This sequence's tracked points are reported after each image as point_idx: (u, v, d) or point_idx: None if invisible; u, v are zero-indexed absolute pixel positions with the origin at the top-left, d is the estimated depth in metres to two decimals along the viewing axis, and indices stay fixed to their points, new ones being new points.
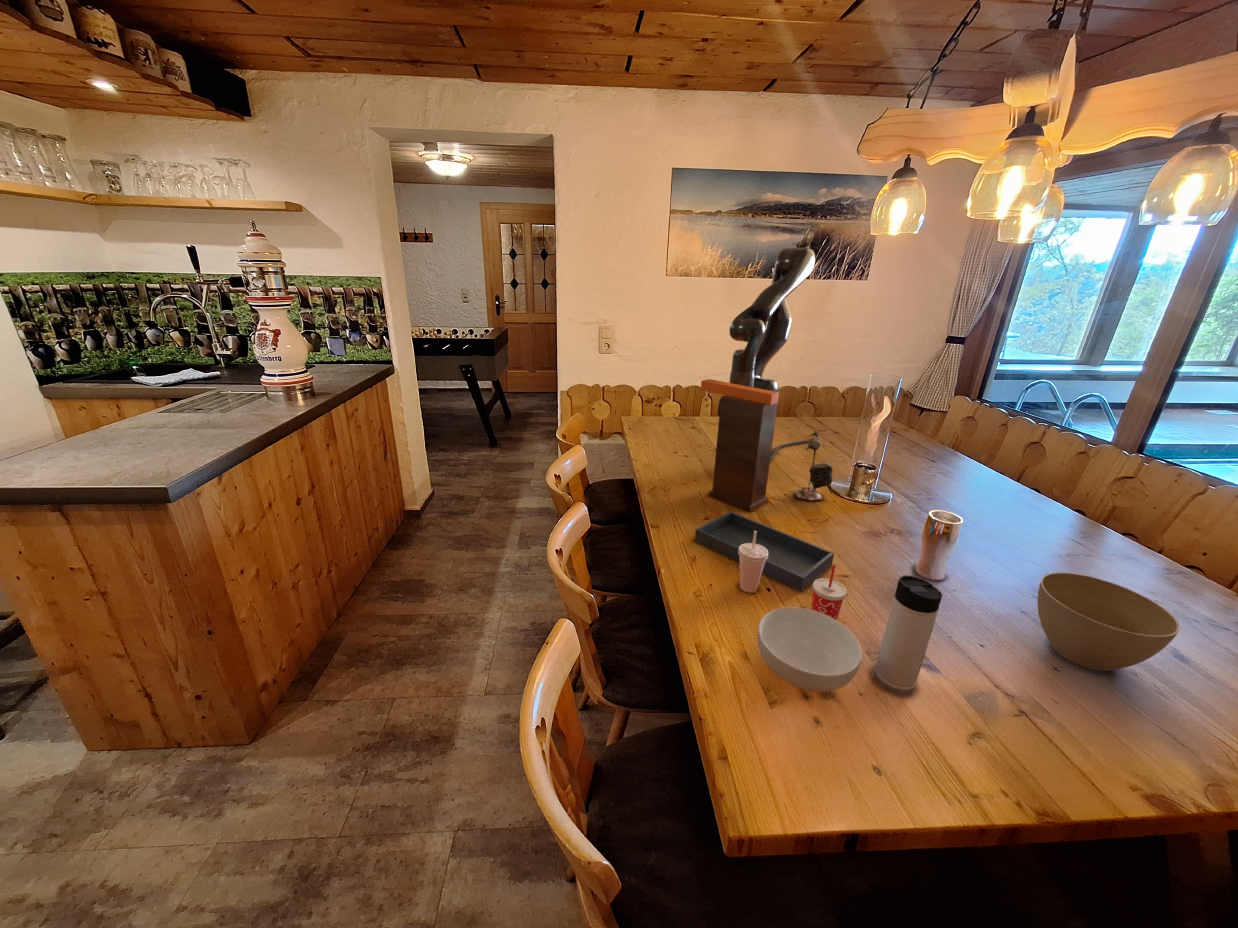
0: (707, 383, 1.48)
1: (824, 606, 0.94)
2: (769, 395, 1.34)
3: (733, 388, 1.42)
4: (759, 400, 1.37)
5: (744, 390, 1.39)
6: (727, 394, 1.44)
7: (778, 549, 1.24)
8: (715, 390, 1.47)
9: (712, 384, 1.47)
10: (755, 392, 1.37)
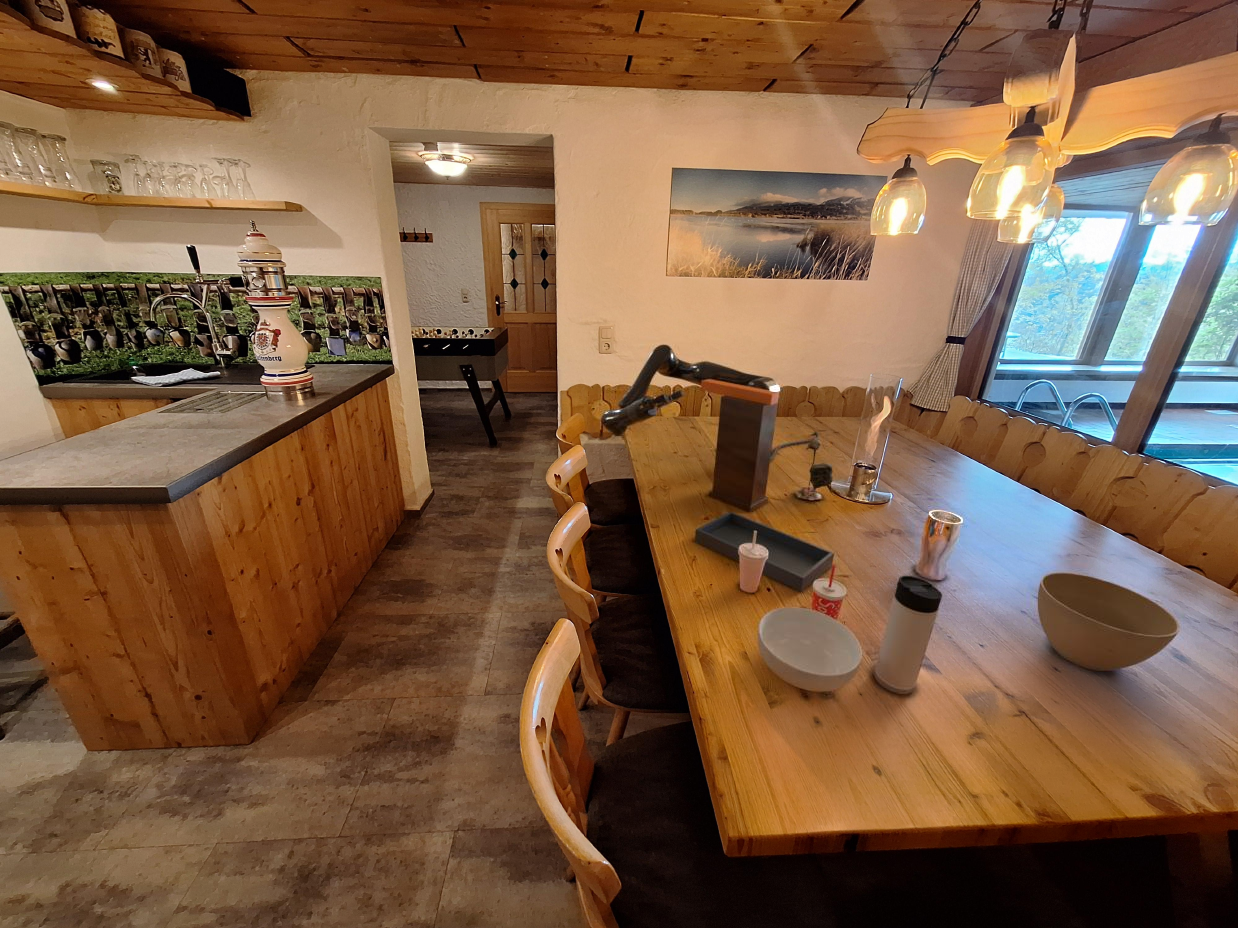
0: (707, 383, 1.48)
1: (824, 606, 0.94)
2: (769, 395, 1.34)
3: (733, 388, 1.42)
4: (759, 400, 1.37)
5: (744, 390, 1.39)
6: (727, 394, 1.44)
7: (778, 549, 1.24)
8: (715, 390, 1.47)
9: (712, 384, 1.47)
10: (755, 392, 1.37)
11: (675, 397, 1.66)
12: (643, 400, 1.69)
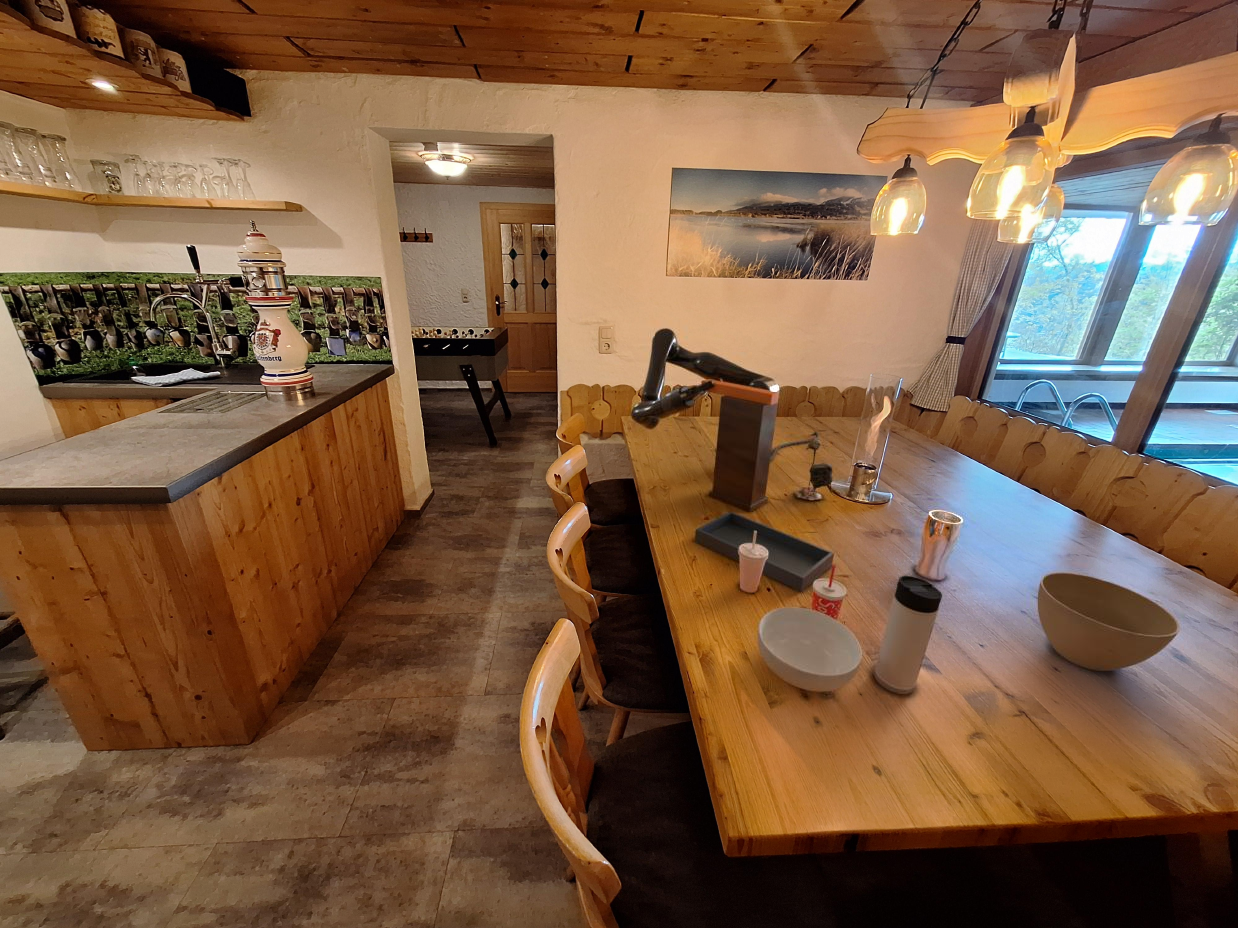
0: None
1: (824, 606, 0.94)
2: (769, 395, 1.34)
3: (733, 388, 1.42)
4: (759, 400, 1.37)
5: (744, 390, 1.39)
6: (727, 394, 1.44)
7: (778, 549, 1.24)
8: (715, 390, 1.47)
9: None
10: (755, 392, 1.37)
11: None
12: (680, 390, 1.56)
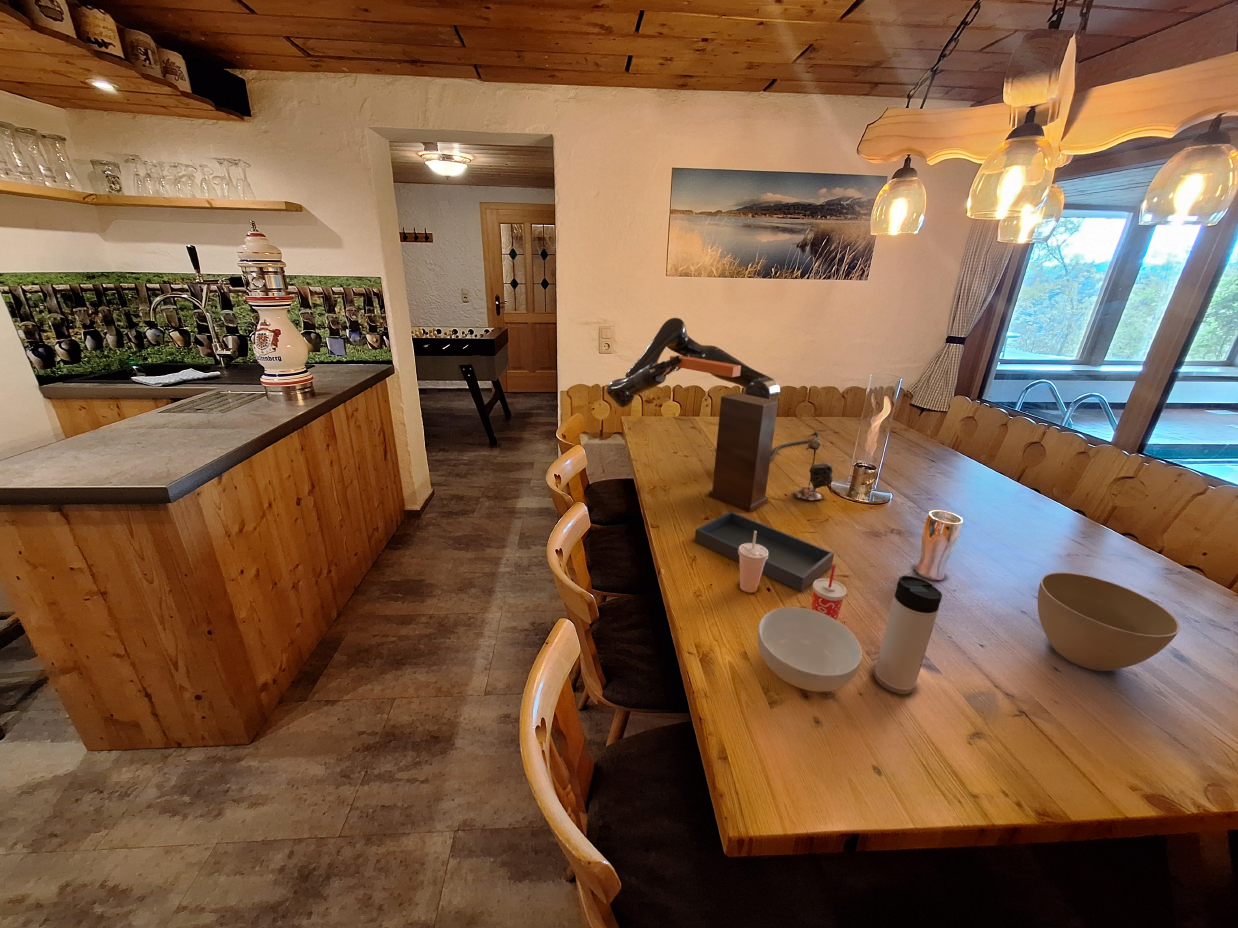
0: None
1: (824, 606, 0.94)
2: (731, 368, 1.41)
3: (698, 362, 1.48)
4: (722, 373, 1.43)
5: (708, 364, 1.46)
6: (693, 368, 1.50)
7: (778, 549, 1.24)
8: (682, 365, 1.53)
9: None
10: (718, 365, 1.44)
11: None
12: (650, 366, 1.63)
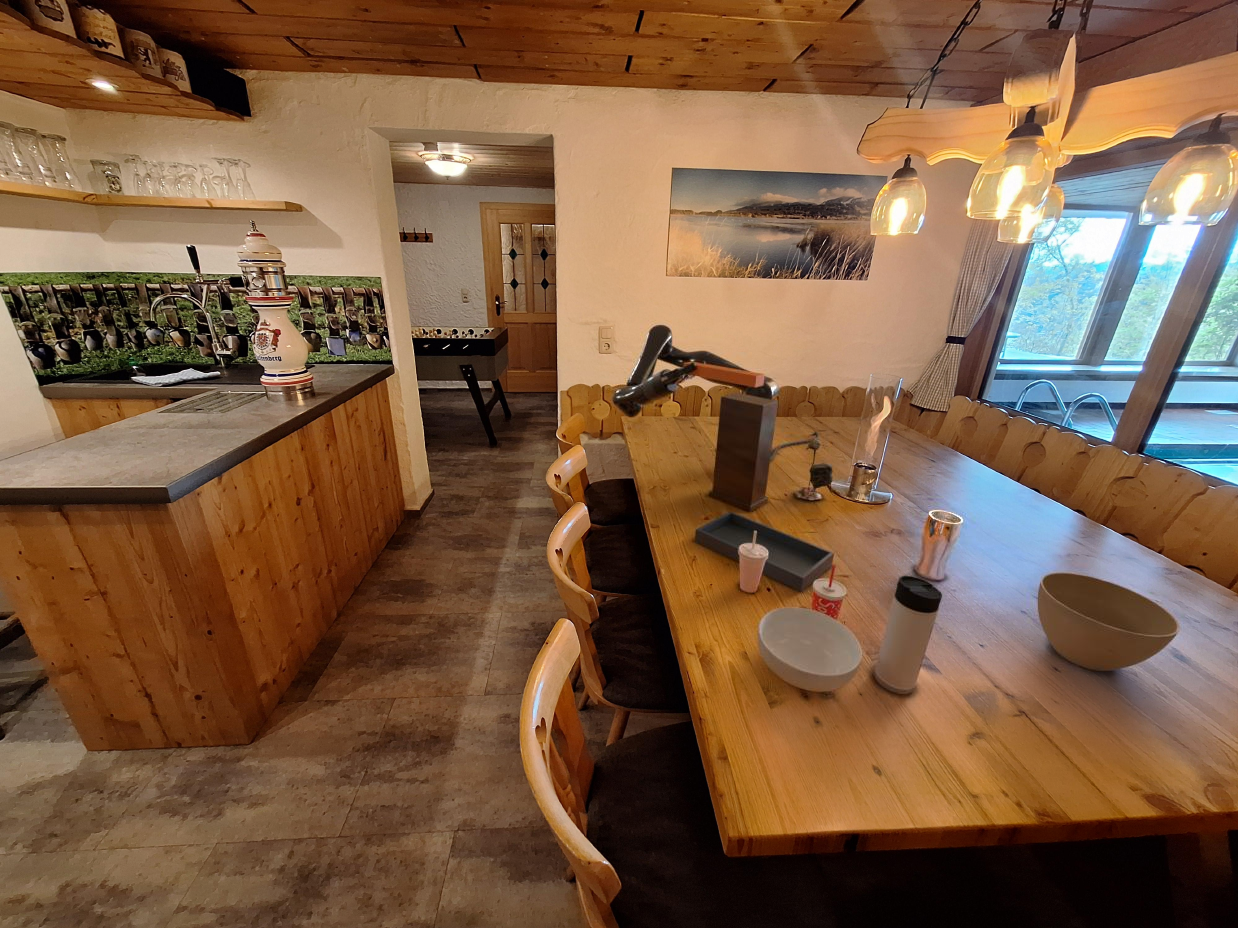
0: None
1: (824, 606, 0.94)
2: (753, 377, 1.25)
3: (716, 370, 1.33)
4: (743, 382, 1.28)
5: (727, 372, 1.30)
6: (710, 377, 1.35)
7: (778, 549, 1.24)
8: (697, 373, 1.38)
9: None
10: (739, 374, 1.28)
11: None
12: (662, 373, 1.47)
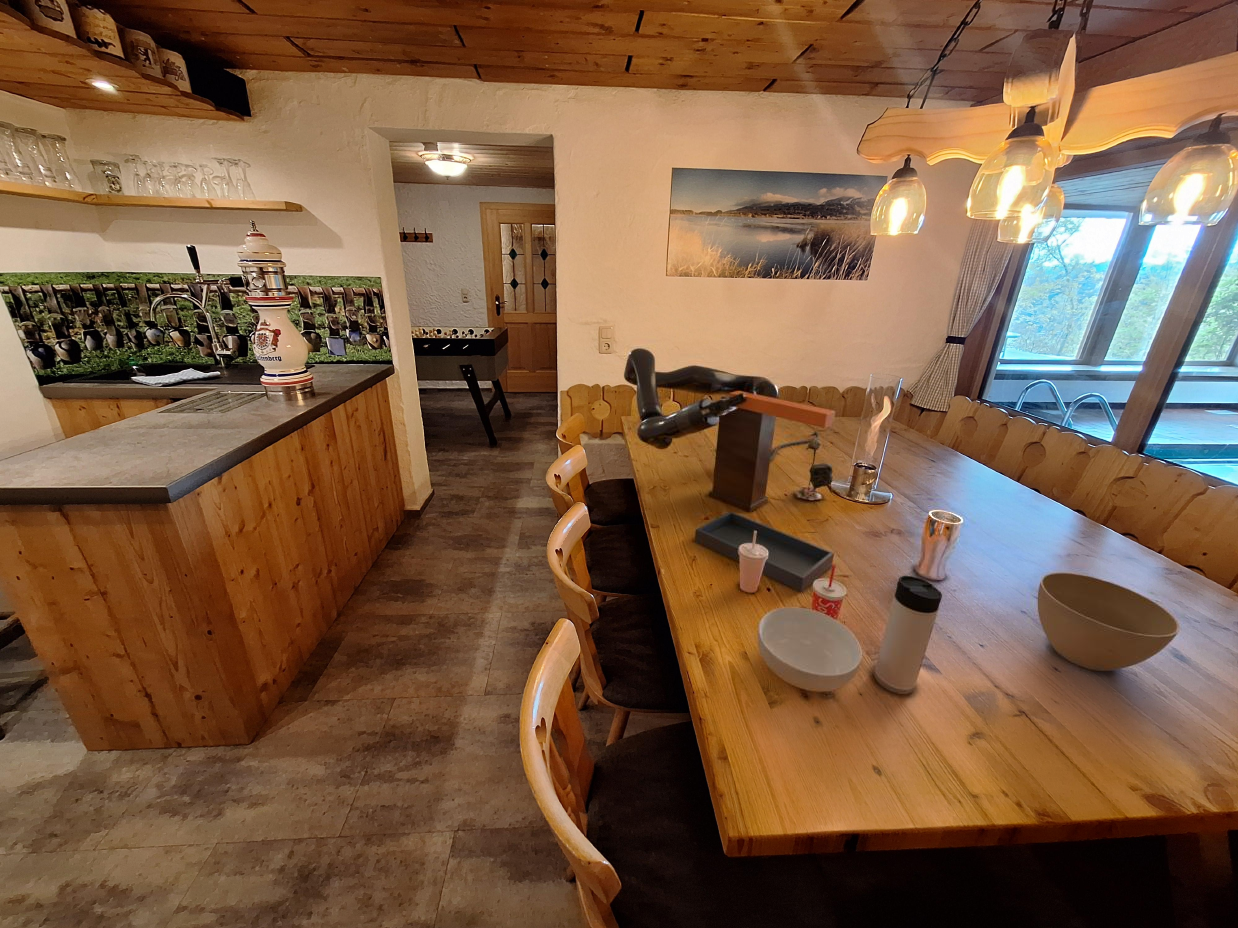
0: None
1: (824, 606, 0.94)
2: (823, 415, 1.01)
3: (772, 404, 1.09)
4: (809, 421, 1.03)
5: (787, 407, 1.06)
6: (764, 411, 1.11)
7: (778, 549, 1.24)
8: (747, 406, 1.14)
9: None
10: (803, 410, 1.04)
11: None
12: (701, 404, 1.23)
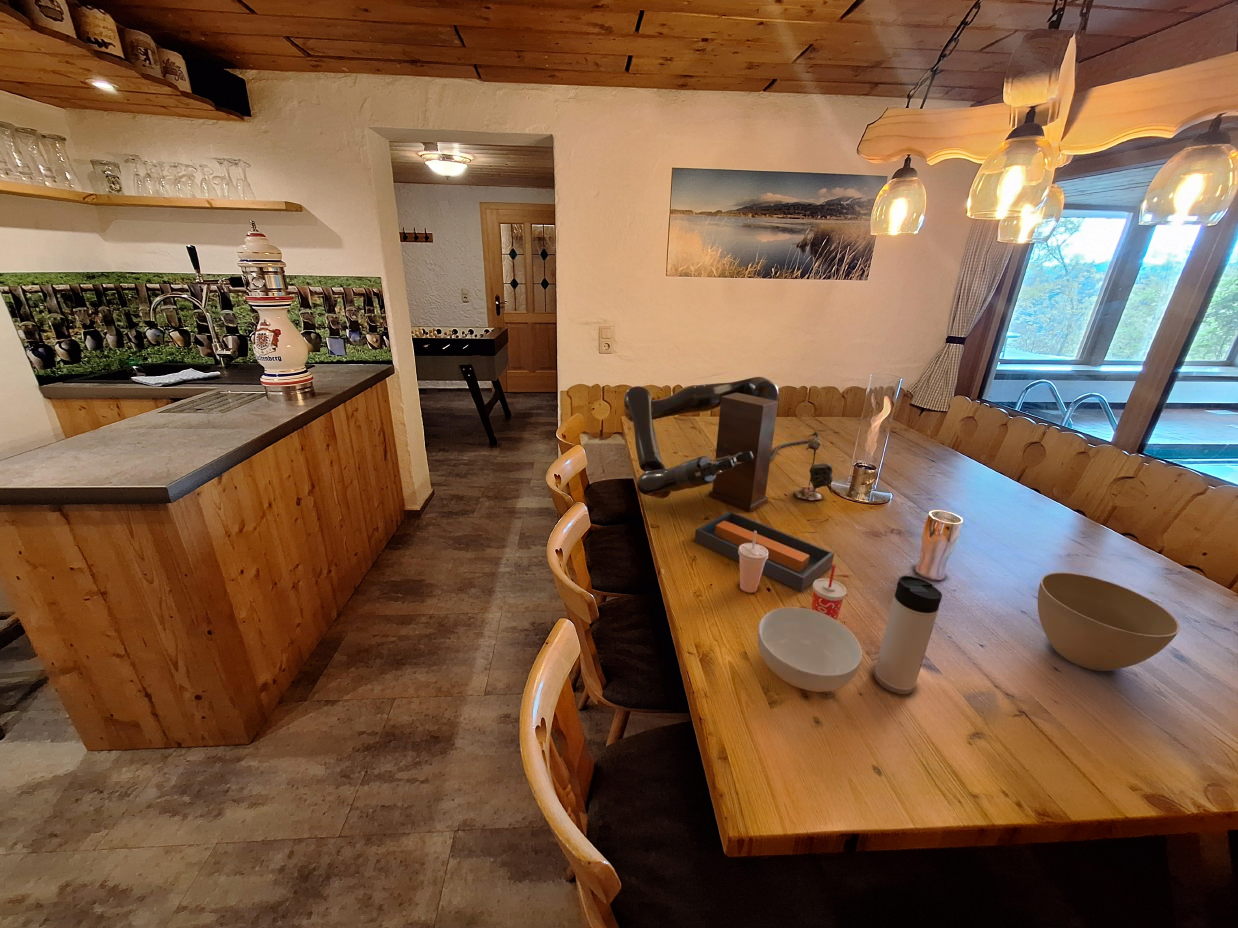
0: (723, 529, 1.28)
1: (824, 606, 0.94)
2: (798, 561, 1.14)
3: None
4: (786, 564, 1.16)
5: (768, 548, 1.19)
6: None
7: None
8: (732, 540, 1.26)
9: (729, 532, 1.26)
10: (781, 554, 1.17)
11: (742, 459, 1.25)
12: (698, 462, 1.28)
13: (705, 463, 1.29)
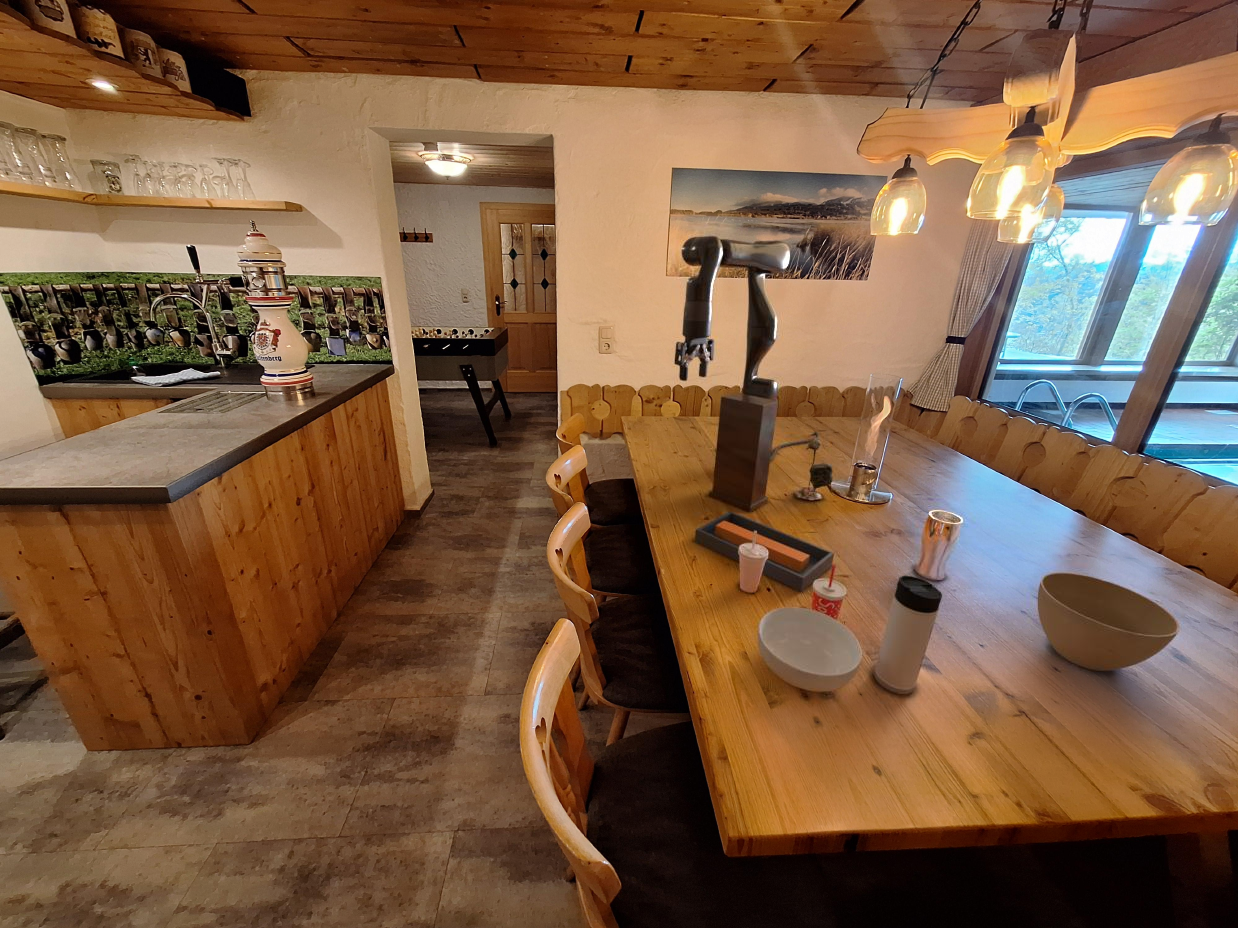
0: (723, 529, 1.28)
1: (824, 606, 0.94)
2: (798, 561, 1.14)
3: None
4: (786, 564, 1.16)
5: (768, 548, 1.19)
6: None
7: None
8: (732, 540, 1.26)
9: (729, 532, 1.26)
10: (781, 554, 1.17)
11: (701, 366, 1.38)
12: (698, 337, 1.29)
13: None
